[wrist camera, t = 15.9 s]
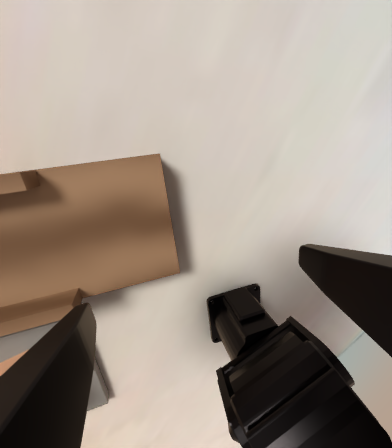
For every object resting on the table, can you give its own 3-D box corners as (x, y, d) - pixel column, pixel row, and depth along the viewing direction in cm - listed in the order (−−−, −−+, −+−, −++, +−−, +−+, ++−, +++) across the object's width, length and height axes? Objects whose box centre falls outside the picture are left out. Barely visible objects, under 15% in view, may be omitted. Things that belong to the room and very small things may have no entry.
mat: (108, 394, 24) (108, 403, 23) (-15, 438, 22) (-21, 450, 21) (76, 310, 20) (73, 317, 19) (-80, 352, 18) (-92, 363, 17)
